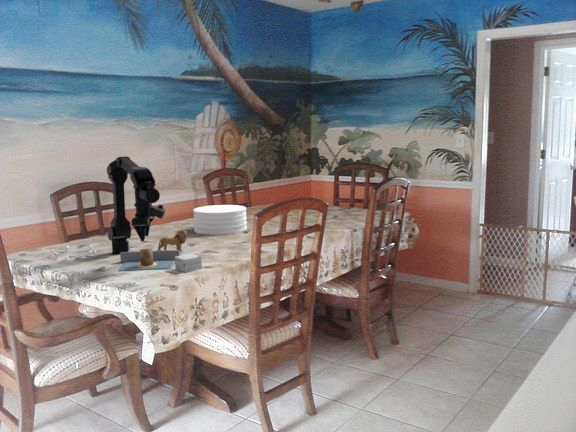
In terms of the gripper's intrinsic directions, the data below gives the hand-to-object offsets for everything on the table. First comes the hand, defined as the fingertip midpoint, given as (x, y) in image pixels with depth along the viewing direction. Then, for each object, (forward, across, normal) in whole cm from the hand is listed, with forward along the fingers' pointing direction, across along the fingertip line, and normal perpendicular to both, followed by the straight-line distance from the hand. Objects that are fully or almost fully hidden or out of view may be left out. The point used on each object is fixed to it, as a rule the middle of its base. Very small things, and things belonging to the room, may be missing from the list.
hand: (144, 238), depth 224 cm
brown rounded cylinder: (+10, -3, -1) cm, 10 cm away
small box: (+11, -10, -18) cm, 23 cm away
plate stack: (+12, +71, -27) cm, 77 cm away
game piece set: (+12, +23, +36) cm, 44 cm away
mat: (+11, -3, -1) cm, 11 cm away
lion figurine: (+11, +23, -8) cm, 27 cm away
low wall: (+11, +6, -1) cm, 12 cm away
